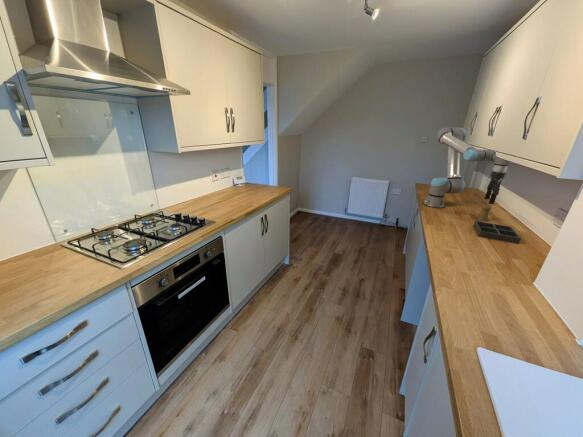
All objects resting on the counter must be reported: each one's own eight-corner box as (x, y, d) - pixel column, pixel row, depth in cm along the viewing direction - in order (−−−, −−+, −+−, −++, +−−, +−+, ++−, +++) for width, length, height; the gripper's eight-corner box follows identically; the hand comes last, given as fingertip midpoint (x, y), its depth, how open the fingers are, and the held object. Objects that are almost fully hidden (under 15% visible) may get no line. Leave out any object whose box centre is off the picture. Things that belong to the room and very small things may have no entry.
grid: (473, 225, 164) (475, 220, 162) (509, 231, 155) (511, 226, 154) (478, 236, 148) (480, 231, 146) (518, 243, 140) (521, 238, 138)
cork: (489, 221, 171) (494, 207, 167) (479, 220, 172) (484, 206, 168) (484, 218, 177) (489, 204, 173) (475, 217, 178) (480, 203, 174)
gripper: (488, 168, 173) (479, 196, 181) (496, 174, 153) (486, 205, 160) (500, 169, 170) (491, 197, 178) (511, 175, 149) (500, 207, 157)
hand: (488, 201), depth 169 cm, fingers open, 13 cm apart
